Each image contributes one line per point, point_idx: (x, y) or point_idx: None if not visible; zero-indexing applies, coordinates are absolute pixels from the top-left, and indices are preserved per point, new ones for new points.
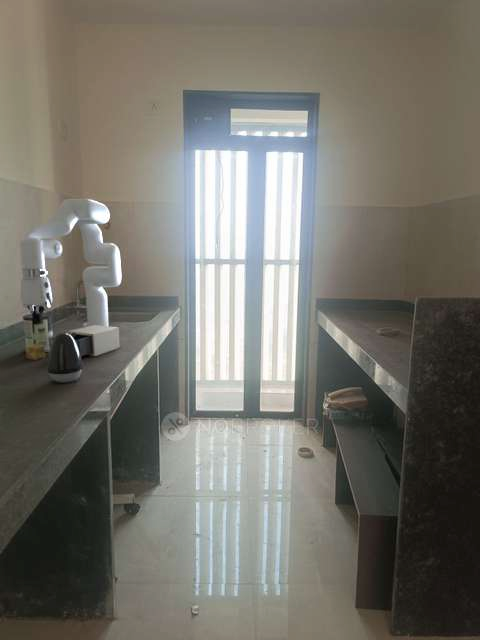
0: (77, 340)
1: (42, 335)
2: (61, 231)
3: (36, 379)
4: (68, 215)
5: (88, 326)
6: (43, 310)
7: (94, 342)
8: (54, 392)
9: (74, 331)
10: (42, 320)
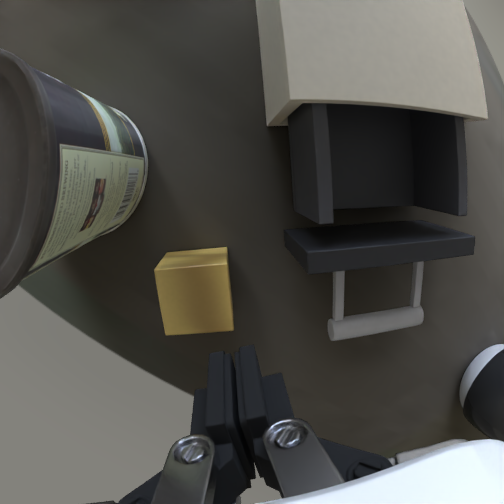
0: (474, 238)
1: (111, 200)
2: None
3: (414, 411)
4: None
5: None
6: (349, 458)
7: None
8: None
9: (342, 87)
10: (282, 378)
